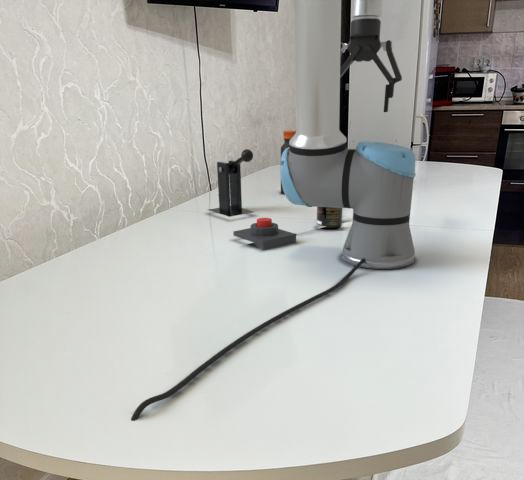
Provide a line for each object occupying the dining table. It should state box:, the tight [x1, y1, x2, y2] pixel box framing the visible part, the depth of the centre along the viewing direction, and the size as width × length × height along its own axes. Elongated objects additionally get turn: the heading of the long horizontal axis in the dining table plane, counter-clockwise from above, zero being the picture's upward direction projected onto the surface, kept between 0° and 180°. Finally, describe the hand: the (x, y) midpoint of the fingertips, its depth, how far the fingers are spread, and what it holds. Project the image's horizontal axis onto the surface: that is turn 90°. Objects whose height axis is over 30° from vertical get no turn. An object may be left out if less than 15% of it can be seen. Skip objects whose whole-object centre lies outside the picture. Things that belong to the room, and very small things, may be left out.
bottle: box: [280, 130, 296, 195], centre depth 179 cm, size 7×7×20 cm
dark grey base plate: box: [233, 222, 297, 251], centre depth 127 cm, size 12×10×4 cm
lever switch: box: [208, 159, 255, 218], centre depth 151 cm, size 12×9×15 cm
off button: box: [256, 217, 273, 227], centre depth 126 cm, size 4×4×2 cm
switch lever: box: [227, 148, 254, 174], centre depth 144 cm, size 13×3×3 cm, turn 38°
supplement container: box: [316, 207, 344, 231], centre depth 136 cm, size 7×7×10 cm
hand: (360, 112), depth 141 cm, fingers open, 13 cm apart
